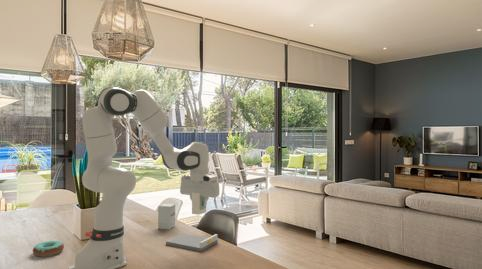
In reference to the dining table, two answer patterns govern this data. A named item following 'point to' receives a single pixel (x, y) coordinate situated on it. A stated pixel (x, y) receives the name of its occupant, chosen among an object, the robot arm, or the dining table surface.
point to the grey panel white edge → (192, 242)
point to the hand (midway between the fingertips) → (199, 205)
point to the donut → (48, 248)
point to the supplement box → (166, 216)
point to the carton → (197, 203)
